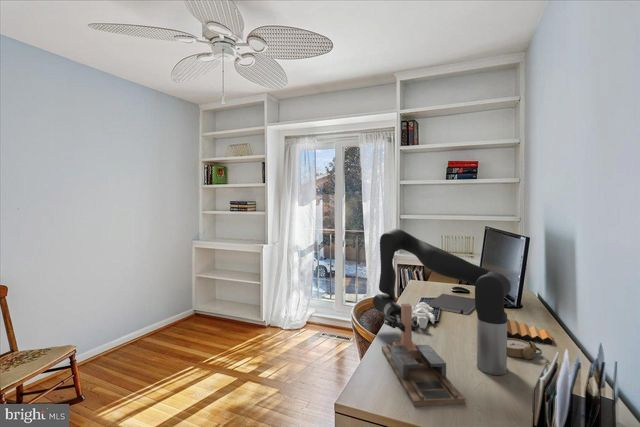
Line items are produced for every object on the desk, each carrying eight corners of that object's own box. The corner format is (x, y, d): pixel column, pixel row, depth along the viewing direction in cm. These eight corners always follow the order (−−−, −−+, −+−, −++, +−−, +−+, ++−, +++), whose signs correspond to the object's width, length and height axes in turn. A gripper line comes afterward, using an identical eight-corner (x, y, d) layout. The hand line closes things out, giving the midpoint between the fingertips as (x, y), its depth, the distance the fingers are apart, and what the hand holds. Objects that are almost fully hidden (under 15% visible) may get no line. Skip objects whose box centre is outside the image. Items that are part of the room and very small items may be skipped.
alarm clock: (500, 336, 137) (543, 339, 126) (503, 348, 136) (546, 353, 126) (492, 344, 129) (537, 349, 118) (494, 357, 128) (540, 363, 118)
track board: (381, 350, 130) (381, 344, 130) (419, 349, 131) (419, 343, 131) (413, 406, 94) (413, 397, 94) (464, 403, 95) (465, 395, 95)
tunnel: (390, 359, 119) (390, 346, 119) (428, 358, 120) (428, 344, 120) (403, 380, 105) (403, 364, 105) (446, 378, 106) (446, 363, 106)
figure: (432, 335, 149) (437, 314, 171) (432, 319, 148) (437, 300, 171) (403, 331, 154) (412, 311, 177) (403, 315, 153) (412, 297, 176)
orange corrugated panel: (484, 318, 168) (484, 335, 146) (484, 311, 168) (484, 327, 146) (543, 326, 157) (553, 346, 135) (543, 318, 157) (553, 337, 135)
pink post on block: (392, 349, 127) (392, 302, 127) (413, 348, 128) (413, 301, 127) (399, 359, 119) (399, 308, 119) (420, 358, 120) (420, 307, 119)
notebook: (442, 297, 207) (426, 308, 185) (442, 293, 207) (426, 304, 185) (479, 303, 194) (467, 315, 172) (480, 299, 194) (467, 311, 172)
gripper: (378, 305, 137) (390, 319, 120) (411, 304, 138) (427, 318, 121) (378, 323, 137) (390, 339, 120) (411, 322, 138) (427, 338, 121)
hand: (409, 329), depth 120 cm, fingers closed on pink post on block, 3 cm apart
